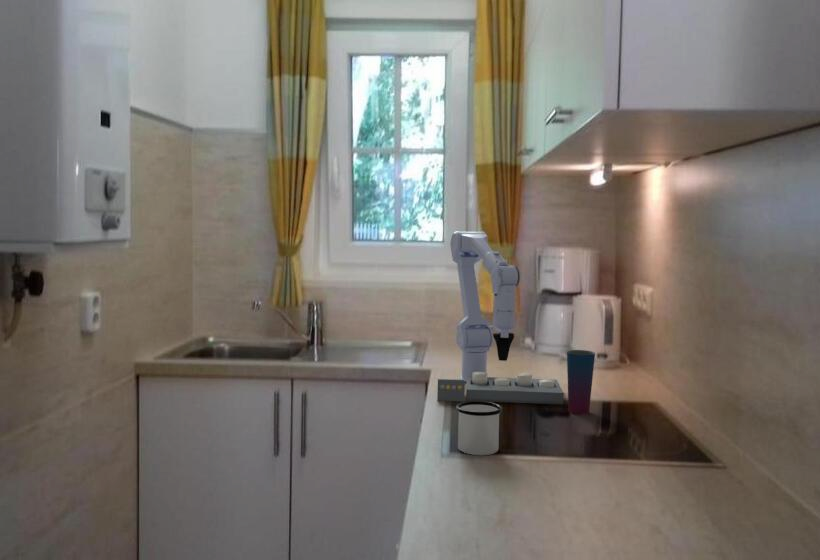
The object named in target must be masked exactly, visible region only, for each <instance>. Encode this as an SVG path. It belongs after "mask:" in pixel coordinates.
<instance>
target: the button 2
mask: <svg viewBox="0 0 820 560" xmlns="http://www.w3.org/2000/svg"><path fill="white" fill-rule="evenodd" d="M507 378H508V377H496V379H495V384H494V385H500V386H509V379H507Z"/></svg>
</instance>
